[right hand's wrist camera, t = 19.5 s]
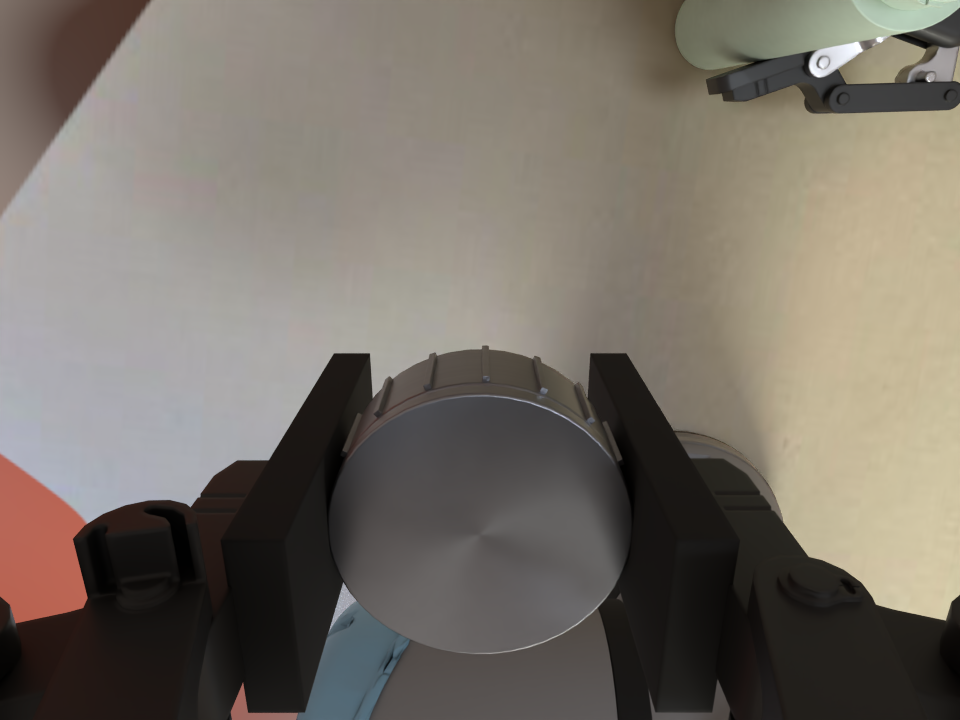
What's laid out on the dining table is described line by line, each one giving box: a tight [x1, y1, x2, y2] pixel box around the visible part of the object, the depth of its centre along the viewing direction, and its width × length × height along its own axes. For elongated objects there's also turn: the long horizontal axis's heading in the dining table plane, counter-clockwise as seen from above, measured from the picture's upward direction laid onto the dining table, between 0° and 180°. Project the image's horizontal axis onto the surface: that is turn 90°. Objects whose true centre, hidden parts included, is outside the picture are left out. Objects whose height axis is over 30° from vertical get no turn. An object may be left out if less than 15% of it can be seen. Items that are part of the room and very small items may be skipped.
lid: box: [327, 346, 633, 654], centre depth 11 cm, size 5×5×2 cm
